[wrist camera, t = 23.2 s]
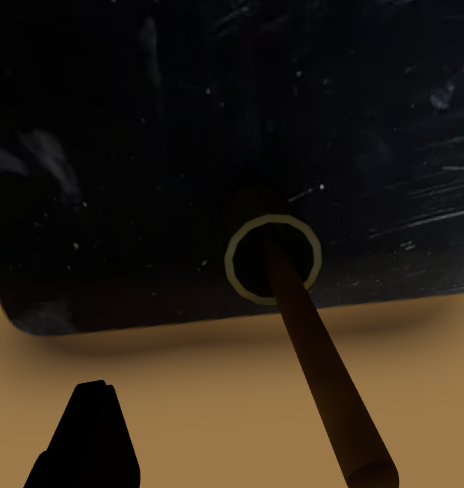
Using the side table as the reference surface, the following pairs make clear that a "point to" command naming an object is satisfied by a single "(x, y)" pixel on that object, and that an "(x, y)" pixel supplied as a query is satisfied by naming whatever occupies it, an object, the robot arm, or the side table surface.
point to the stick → (325, 372)
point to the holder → (242, 247)
